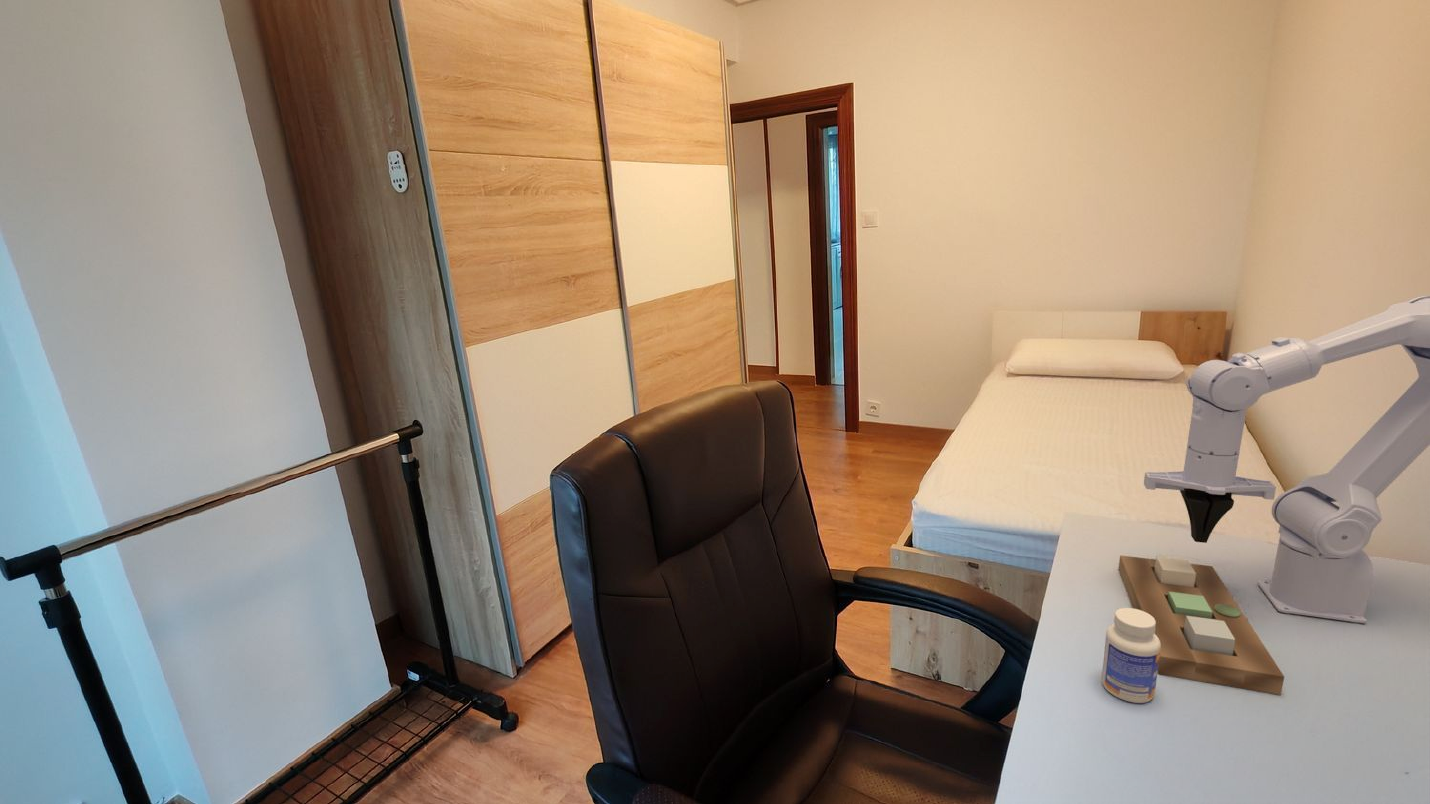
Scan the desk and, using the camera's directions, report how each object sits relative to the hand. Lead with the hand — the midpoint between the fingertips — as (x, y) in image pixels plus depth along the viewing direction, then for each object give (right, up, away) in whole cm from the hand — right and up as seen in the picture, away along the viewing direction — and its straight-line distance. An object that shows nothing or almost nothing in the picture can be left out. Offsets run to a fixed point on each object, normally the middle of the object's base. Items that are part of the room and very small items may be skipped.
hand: (1198, 539), depth 92 cm
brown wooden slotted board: (-4, -11, -3) cm, 12 cm away
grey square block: (-7, -11, -11) cm, 17 cm away
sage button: (-4, -11, -3) cm, 12 cm away
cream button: (-1, -7, +4) cm, 8 cm away
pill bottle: (-19, -15, -14) cm, 28 cm away
